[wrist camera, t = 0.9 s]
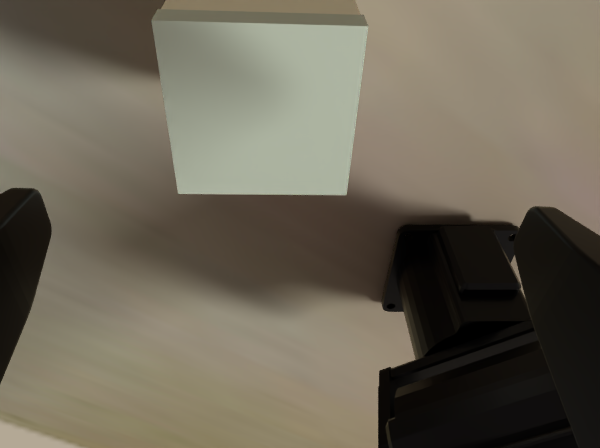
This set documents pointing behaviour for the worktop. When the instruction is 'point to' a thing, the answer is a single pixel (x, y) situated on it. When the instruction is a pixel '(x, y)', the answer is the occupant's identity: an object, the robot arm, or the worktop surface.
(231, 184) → the cream block
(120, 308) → the worktop surface
